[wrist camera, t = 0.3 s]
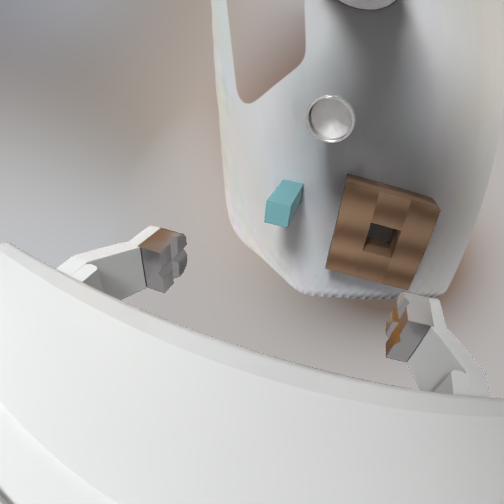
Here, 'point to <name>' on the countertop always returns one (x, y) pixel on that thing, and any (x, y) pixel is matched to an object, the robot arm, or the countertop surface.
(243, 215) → the countertop surface
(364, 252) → the socket block
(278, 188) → the peg
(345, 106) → the beer glass
